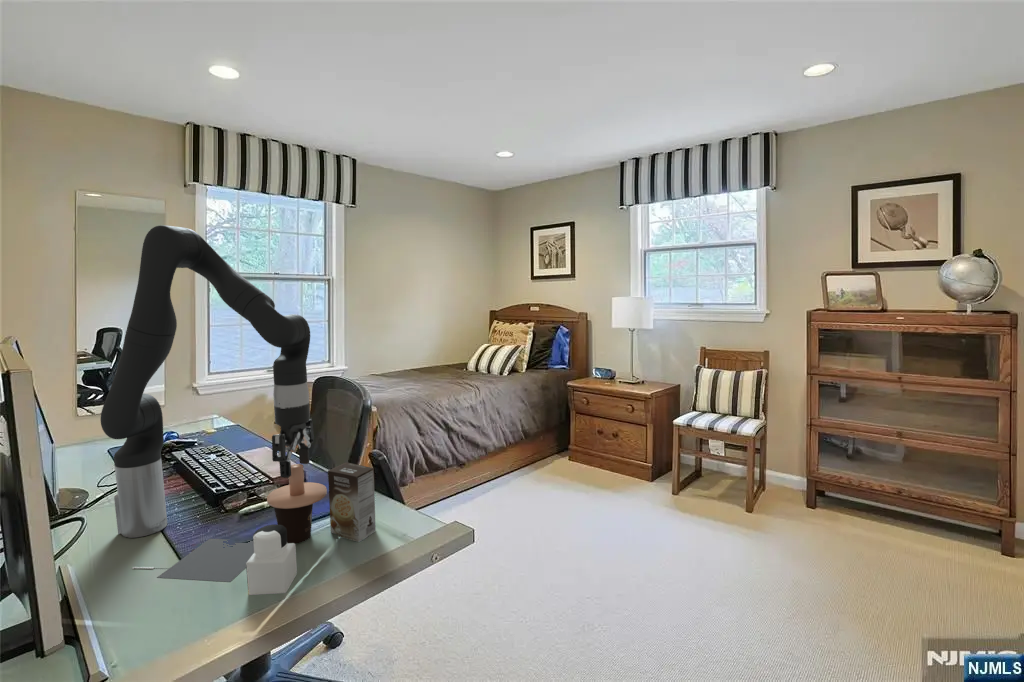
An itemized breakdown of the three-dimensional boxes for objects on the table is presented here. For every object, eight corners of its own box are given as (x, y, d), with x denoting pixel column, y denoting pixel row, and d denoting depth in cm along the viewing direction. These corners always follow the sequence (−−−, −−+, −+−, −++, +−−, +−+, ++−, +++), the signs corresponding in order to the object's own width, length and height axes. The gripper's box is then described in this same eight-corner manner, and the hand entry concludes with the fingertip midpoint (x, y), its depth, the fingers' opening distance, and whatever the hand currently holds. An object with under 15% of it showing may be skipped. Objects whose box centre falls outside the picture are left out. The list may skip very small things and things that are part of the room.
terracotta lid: (255, 507, 119) (252, 476, 118) (286, 484, 132) (284, 456, 131) (310, 509, 117) (308, 478, 116) (336, 486, 130) (334, 457, 129)
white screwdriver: (128, 571, 112) (128, 566, 112) (217, 572, 112) (216, 566, 111) (125, 573, 111) (125, 568, 111) (214, 574, 111) (214, 569, 111)
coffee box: (329, 535, 126) (325, 470, 124) (348, 523, 132) (344, 461, 130) (359, 543, 122) (356, 476, 120) (377, 530, 128) (374, 466, 126)
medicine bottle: (262, 576, 109) (258, 521, 108) (297, 574, 110) (294, 519, 108) (247, 597, 102) (243, 538, 100) (286, 595, 103) (282, 537, 101)
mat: (157, 580, 108) (157, 577, 108) (209, 541, 124) (209, 538, 124) (230, 584, 106) (230, 581, 106) (274, 544, 122) (274, 541, 122)
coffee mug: (301, 550, 119) (299, 508, 118) (267, 547, 121) (264, 505, 120) (329, 526, 130) (327, 487, 129) (298, 523, 132) (295, 485, 131)
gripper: (292, 394, 129) (295, 458, 131) (258, 409, 115) (262, 481, 117) (321, 395, 128) (324, 460, 130) (291, 410, 114) (295, 482, 116)
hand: (295, 470), depth 124 cm, fingers open, 8 cm apart
